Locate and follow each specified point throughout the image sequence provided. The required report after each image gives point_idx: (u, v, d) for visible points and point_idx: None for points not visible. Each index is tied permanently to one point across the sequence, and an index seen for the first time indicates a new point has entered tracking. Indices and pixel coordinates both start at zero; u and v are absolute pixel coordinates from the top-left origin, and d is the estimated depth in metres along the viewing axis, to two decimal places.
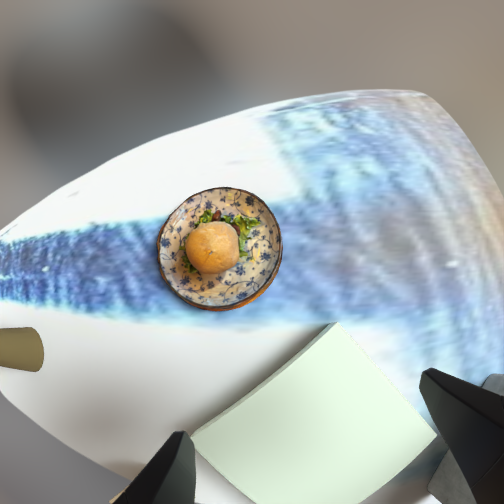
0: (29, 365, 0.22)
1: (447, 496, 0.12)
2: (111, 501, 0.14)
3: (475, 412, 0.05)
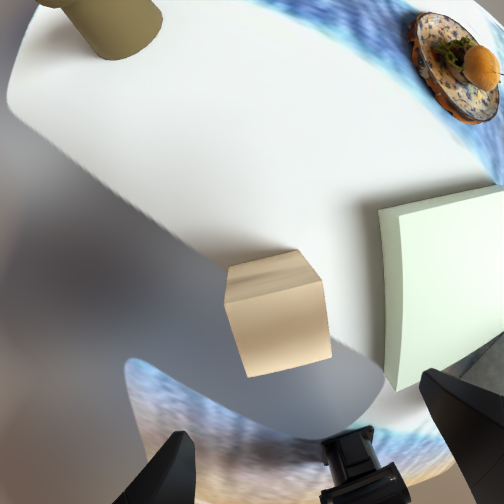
0: (126, 39, 0.12)
1: None
2: (231, 304, 0.13)
3: (475, 412, 0.05)
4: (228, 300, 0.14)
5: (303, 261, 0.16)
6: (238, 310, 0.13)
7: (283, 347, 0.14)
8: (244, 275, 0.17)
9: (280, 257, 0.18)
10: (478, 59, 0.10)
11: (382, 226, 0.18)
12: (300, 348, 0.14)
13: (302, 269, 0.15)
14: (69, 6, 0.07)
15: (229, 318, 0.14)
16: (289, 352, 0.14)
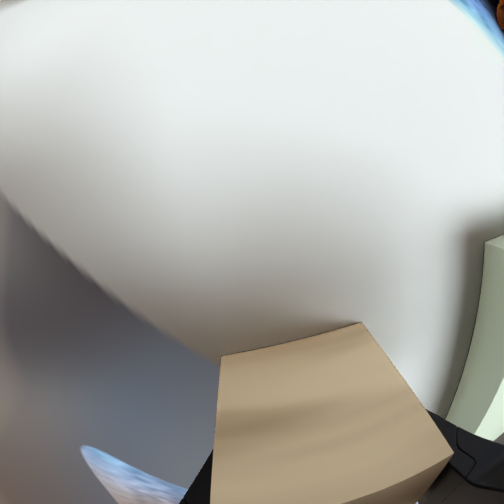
0: None
1: None
2: None
3: None
4: None
5: (388, 369, 0.06)
6: None
7: None
8: (256, 405, 0.06)
9: (330, 345, 0.08)
10: None
11: (489, 270, 0.08)
12: None
13: (395, 405, 0.05)
14: None
15: None
16: None
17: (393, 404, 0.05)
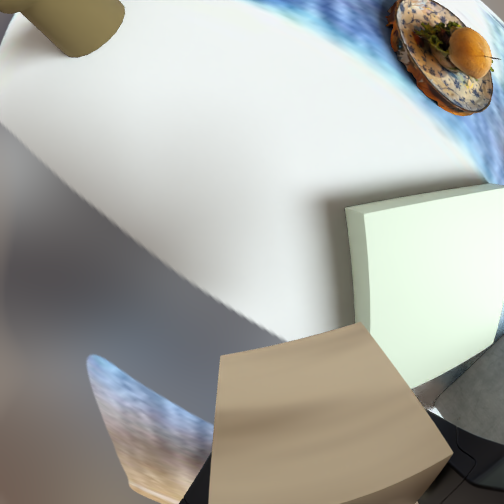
0: (84, 36, 0.11)
1: (460, 414, 0.19)
2: None
3: None
4: None
5: (387, 368, 0.06)
6: None
7: None
8: (255, 405, 0.06)
9: (329, 345, 0.08)
10: (465, 41, 0.09)
11: (349, 225, 0.17)
12: None
13: (394, 405, 0.05)
14: (25, 10, 0.05)
15: None
16: None
17: (392, 404, 0.05)
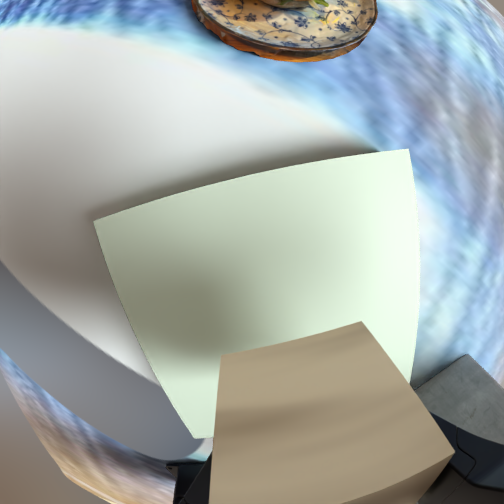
0: None
1: None
2: None
3: None
4: None
5: (388, 367, 0.06)
6: None
7: None
8: (255, 404, 0.06)
9: (330, 344, 0.08)
10: None
11: None
12: None
13: (396, 404, 0.05)
14: None
15: None
16: None
17: (394, 403, 0.05)
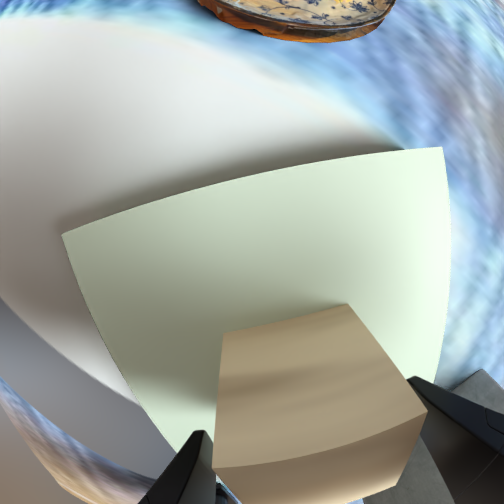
0: None
1: None
2: (228, 468, 0.04)
3: (457, 424, 0.05)
4: (222, 457, 0.05)
5: (369, 341, 0.08)
6: (244, 474, 0.05)
7: (324, 496, 0.05)
8: (253, 371, 0.08)
9: (319, 322, 0.09)
10: None
11: None
12: (352, 491, 0.05)
13: (374, 370, 0.06)
14: None
15: (225, 482, 0.05)
16: (333, 498, 0.05)
17: (373, 369, 0.06)
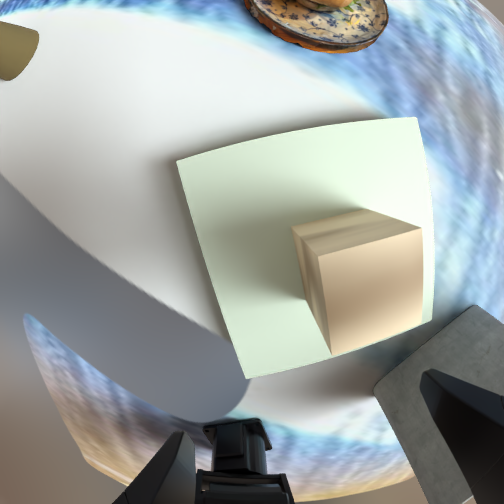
0: (8, 66, 0.12)
1: (398, 407, 0.19)
2: (326, 256, 0.10)
3: (475, 412, 0.05)
4: (321, 252, 0.11)
5: (383, 216, 0.13)
6: (334, 264, 0.10)
7: (377, 312, 0.11)
8: (320, 231, 0.13)
9: (351, 215, 0.15)
10: None
11: None
12: (394, 312, 0.11)
13: (389, 222, 0.12)
14: None
15: (322, 276, 0.10)
16: (382, 319, 0.11)
17: (388, 221, 0.12)
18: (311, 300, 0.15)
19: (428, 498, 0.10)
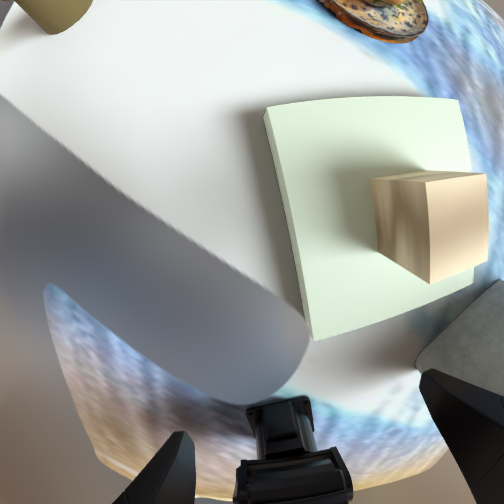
0: (61, 16, 0.11)
1: None
2: (430, 183, 0.10)
3: (475, 412, 0.05)
4: (424, 181, 0.10)
5: (447, 171, 0.13)
6: (435, 191, 0.10)
7: (461, 243, 0.11)
8: (404, 177, 0.13)
9: (418, 172, 0.15)
10: None
11: (267, 132, 0.17)
12: (471, 245, 0.11)
13: (456, 172, 0.12)
14: None
15: (428, 200, 0.10)
16: (464, 250, 0.11)
17: (455, 172, 0.12)
18: (394, 243, 0.14)
19: None
